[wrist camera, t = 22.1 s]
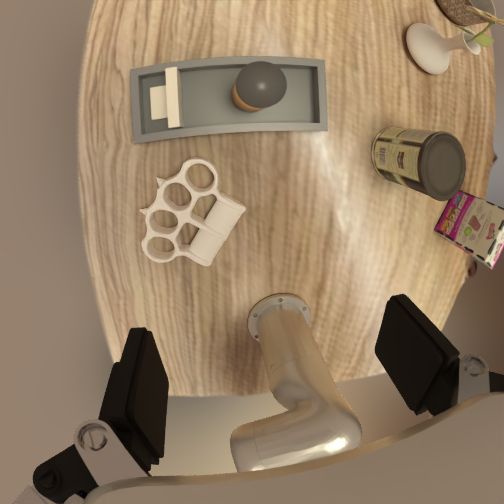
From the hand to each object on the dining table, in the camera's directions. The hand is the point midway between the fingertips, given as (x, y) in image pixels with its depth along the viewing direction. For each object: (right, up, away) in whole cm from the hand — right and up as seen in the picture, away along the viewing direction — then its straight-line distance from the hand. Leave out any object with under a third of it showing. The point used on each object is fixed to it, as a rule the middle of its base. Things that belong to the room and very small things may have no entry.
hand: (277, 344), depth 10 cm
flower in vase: (+32, +43, +26) cm, 59 cm away
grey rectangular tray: (-4, +27, +28) cm, 39 cm away
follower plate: (-13, +25, +25) cm, 38 cm away
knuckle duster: (-11, +10, +35) cm, 38 cm away
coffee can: (+25, +21, +34) cm, 47 cm away
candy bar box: (+43, +12, +41) cm, 61 cm away
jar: (-1, +26, +27) cm, 38 cm away
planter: (+44, +60, +20) cm, 77 cm away
